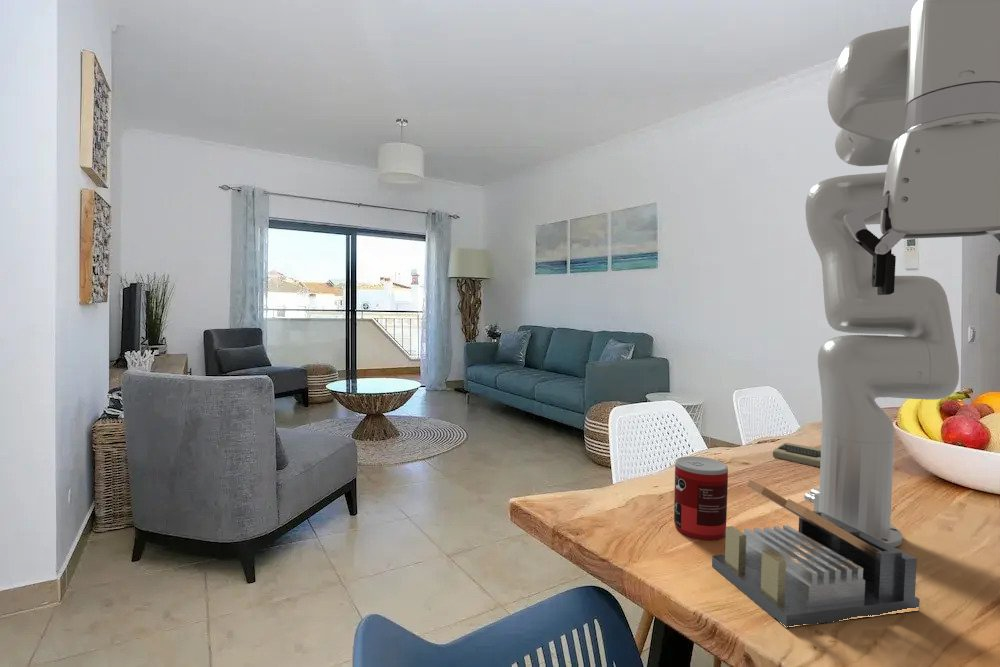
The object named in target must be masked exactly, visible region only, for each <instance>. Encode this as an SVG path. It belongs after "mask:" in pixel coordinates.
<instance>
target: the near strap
mask: <svg viewBox="0 0 1000 667" xmlns="http://www.w3.org/2000/svg"><path fill="white" fill-rule="evenodd" d="M787 500H788V501H787V503H786V505H785V507H787V508H789V509H791V510H792V511H794V512H796V513H797V514H799V515H801V516H802V517H804V518H806V519H808V520H809V521H811V522H813V523H814V524H816V525H818V526H820V527H821V528H823V529H825V530H826V531H828V532H830V533H832V534H833V535H835V536H837V537H838V538H840V539H842V540H844V541H845V542H847V543H849V544H850V545H852V546H853V547H854V548H856V549H857V550H859V551H861V552H863V553H865V554H867V555H869V556H871V557H872V558H874V559H876V552H882V551H880V550H878V549H876V548H874V547H873V546H871V545H869V544H867V543H865V542H864V541H862V540H860V539H859V538H857V537H855V536H854V535H852V534H850V533H849V532H847V531H845V530H843V529H842V528H840V527H838V526H837V525H835V524H833V523H832V522H830V521H828V520H826V519H825V518H823V517H821V516H820V515H818V514H816V513H815V512H813V511H814V510H812V509H809V508H808V507H806V506H804V505H802V504H800V503H797V502H796V501H794V500H792V499H790V498H788V499H787Z"/></svg>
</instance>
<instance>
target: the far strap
mask: <svg viewBox="0 0 1000 667" xmlns="http://www.w3.org/2000/svg"><path fill="white" fill-rule="evenodd" d="M746 487H747V488H749V489H750V490H752V491H754V492H755V493H757V494H759V495H761V496H762V497H765V498H766V499H768V500H769V501H771V502H772V503H774V504H776V505H778V506H779V507H781V508H783V509H784V510H786V511H788V512H790V513H791V514H793V515H795V516H796V517H798V518H799V517H800V518H802V519H803V520H805V521H807V522H809V523H810V524H811V525H812V526H814V527H816V528H818V529H820V530H822V531H824V532H825V533H827V534H829V535H831V536H832V533H830V532H828V531H826V530H825V529H823V528H821V527H820V526H818V525H816V524H814V523H813V522H811V521H809V520H808V519H806V518H804V517H802V516H801V515H799V514H797V513H796V512H794V511H792V510H791V509H789V508H787V507H785V505H786V503H787V501H788V499H787V498H786V499H785V498H784V497H783V496H781V495H779V494H777V493H776V492H774V491H772V490H771V489H769V488H767V487H765V486H763V485H762V484H759V483H758V482H755V481H753V480H751V479H749V481H748V483H747V484H746Z"/></svg>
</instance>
